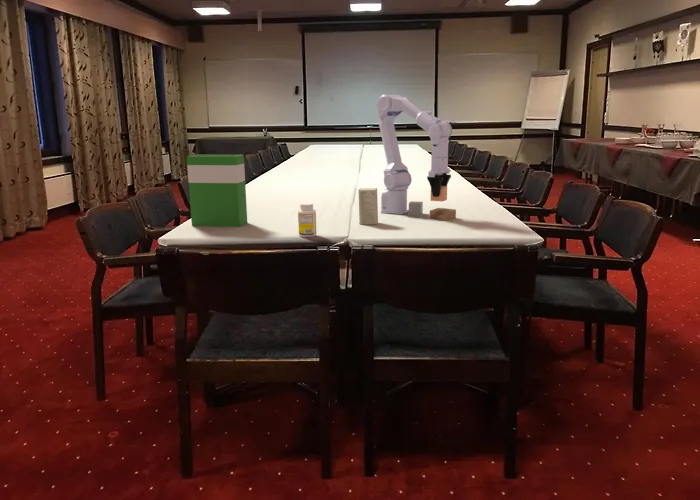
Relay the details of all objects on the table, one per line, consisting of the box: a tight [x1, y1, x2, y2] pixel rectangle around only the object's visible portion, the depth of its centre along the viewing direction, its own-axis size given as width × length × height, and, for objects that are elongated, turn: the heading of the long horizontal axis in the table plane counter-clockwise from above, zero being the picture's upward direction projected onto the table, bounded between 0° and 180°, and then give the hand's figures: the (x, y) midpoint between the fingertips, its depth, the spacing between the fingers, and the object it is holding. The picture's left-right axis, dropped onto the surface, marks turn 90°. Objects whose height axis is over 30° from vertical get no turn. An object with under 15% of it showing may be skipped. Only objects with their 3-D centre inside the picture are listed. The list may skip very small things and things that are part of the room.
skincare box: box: [358, 187, 379, 225], centre depth 199 cm, size 6×4×12 cm
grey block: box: [408, 200, 424, 218], centre depth 214 cm, size 4×4×5 cm
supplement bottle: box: [297, 202, 317, 238], centre depth 180 cm, size 6×6×10 cm
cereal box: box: [186, 154, 248, 228], centre depth 200 cm, size 18×7×24 cm, turn 79°
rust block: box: [430, 185, 448, 203], centre depth 205 cm, size 4×4×5 cm
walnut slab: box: [429, 207, 457, 222], centre depth 208 cm, size 7×7×4 cm
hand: (438, 195), depth 205 cm, fingers closed on rust block, 5 cm apart
